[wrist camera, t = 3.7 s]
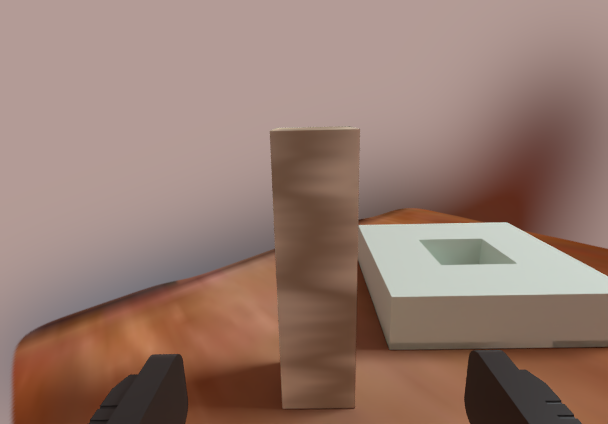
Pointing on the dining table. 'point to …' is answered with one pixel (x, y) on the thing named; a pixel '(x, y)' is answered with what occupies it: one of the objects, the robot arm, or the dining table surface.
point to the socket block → (479, 288)
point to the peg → (316, 262)
